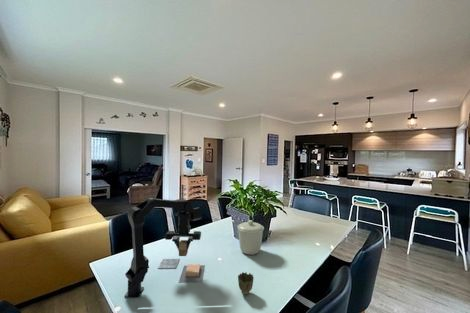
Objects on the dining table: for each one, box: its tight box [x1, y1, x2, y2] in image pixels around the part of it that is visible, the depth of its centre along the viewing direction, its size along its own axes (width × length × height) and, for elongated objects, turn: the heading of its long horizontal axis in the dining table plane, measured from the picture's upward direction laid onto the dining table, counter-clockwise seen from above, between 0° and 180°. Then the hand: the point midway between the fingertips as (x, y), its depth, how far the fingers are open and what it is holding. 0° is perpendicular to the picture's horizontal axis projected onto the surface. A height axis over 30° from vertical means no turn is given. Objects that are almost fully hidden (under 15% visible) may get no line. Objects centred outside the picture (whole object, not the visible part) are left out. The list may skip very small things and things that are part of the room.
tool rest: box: [157, 258, 180, 270], centre depth 122 cm, size 10×10×1 cm
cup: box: [237, 271, 255, 296], centre depth 98 cm, size 8×7×8 cm
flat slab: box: [185, 263, 201, 277], centre depth 114 cm, size 2×7×8 cm
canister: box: [237, 219, 265, 256], centre depth 141 cm, size 18×18×21 cm
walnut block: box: [178, 239, 189, 257], centre depth 115 cm, size 4×4×7 cm
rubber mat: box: [178, 264, 206, 284], centre depth 113 cm, size 16×12×1 cm
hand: (183, 250), depth 114 cm, fingers closed on walnut block, 4 cm apart
